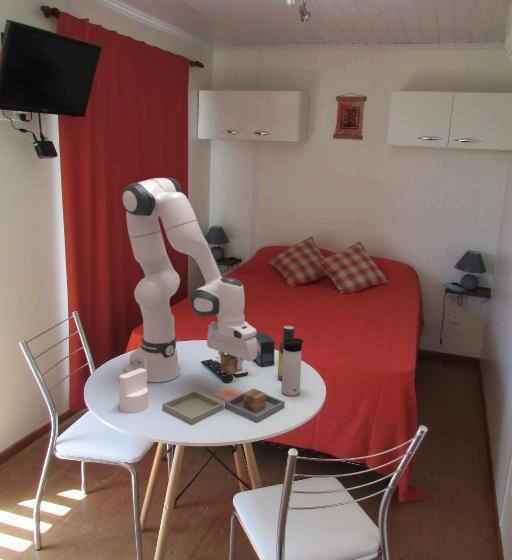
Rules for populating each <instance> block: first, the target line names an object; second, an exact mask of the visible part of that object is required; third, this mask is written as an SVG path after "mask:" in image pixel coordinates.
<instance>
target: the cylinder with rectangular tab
mask: <svg viewBox="0 0 512 560" xmlns="http://www.w3.org/2000/svg"><path fill="white" fill-rule="evenodd" d="M118 379H119V382H118V383H119V391H118V393H119V394H118V395H119V409H120V411H122V412H125V413H127V414H128V413H130V414H131V413H132V414H134V413H135V414H136V413H140V412H143V411H145V410H146V409H148V407H149V388H148V382H147V370H145V369H143V368H139V369H136V370H134V371H131V372H128V373H127V372H125V373H124V374H123V373H122V374H120V375H119V376H118Z"/></svg>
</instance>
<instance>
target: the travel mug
mask: <svg viewBox="0 0 512 560" xmlns="http://www.w3.org/2000/svg"><path fill="white" fill-rule="evenodd" d="M303 343H304V339H302V338H297V337H294V338H291V339H287V340H285V341H284V348H283V370H282V380H281V394H282V395H283V396H285V397H290V398H294V397H298V396H299V395H300V391H301V371H302V370H301V369H302V353H303V352H302V349H303Z"/></svg>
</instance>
